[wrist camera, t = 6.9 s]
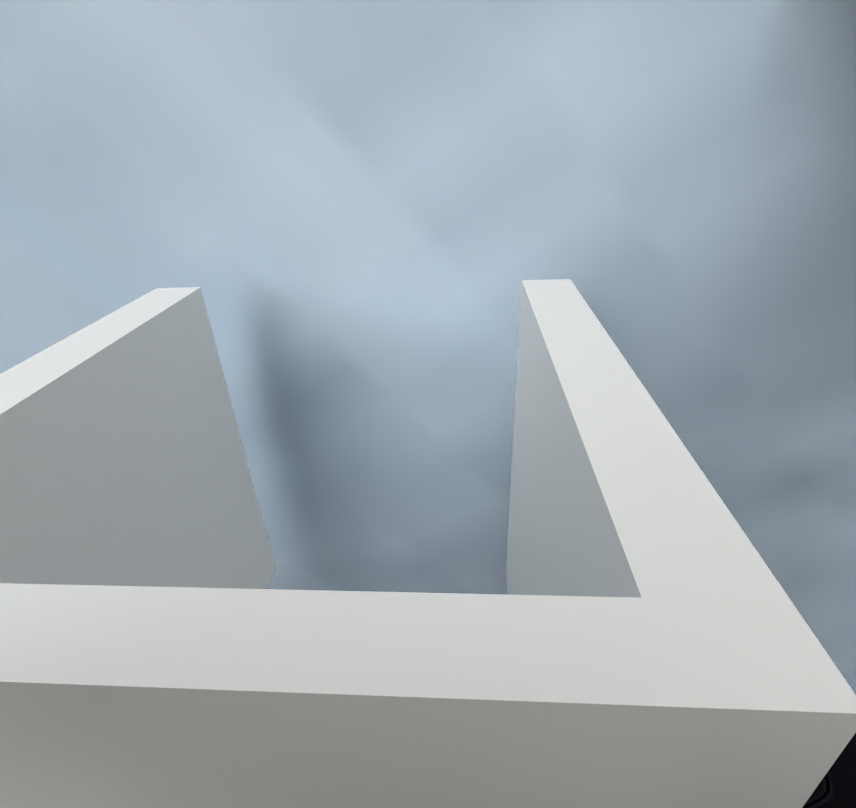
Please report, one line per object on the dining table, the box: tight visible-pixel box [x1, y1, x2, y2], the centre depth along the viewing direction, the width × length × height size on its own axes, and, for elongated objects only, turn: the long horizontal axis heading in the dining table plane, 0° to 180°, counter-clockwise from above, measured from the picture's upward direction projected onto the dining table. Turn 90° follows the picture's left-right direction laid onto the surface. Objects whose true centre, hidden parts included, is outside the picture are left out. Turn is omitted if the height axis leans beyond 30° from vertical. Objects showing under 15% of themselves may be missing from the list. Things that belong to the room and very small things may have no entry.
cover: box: [0, 279, 856, 808], centre depth 7 cm, size 7×7×7 cm
